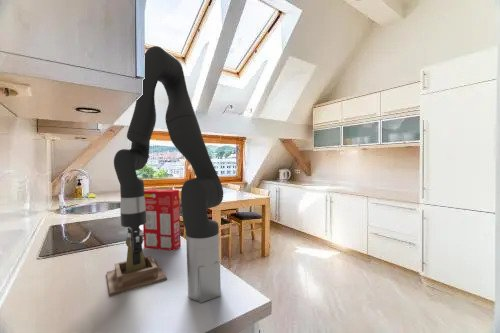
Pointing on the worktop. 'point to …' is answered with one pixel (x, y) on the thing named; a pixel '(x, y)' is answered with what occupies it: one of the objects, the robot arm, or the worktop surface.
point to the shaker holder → (134, 276)
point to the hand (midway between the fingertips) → (135, 261)
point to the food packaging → (162, 220)
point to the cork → (129, 262)
